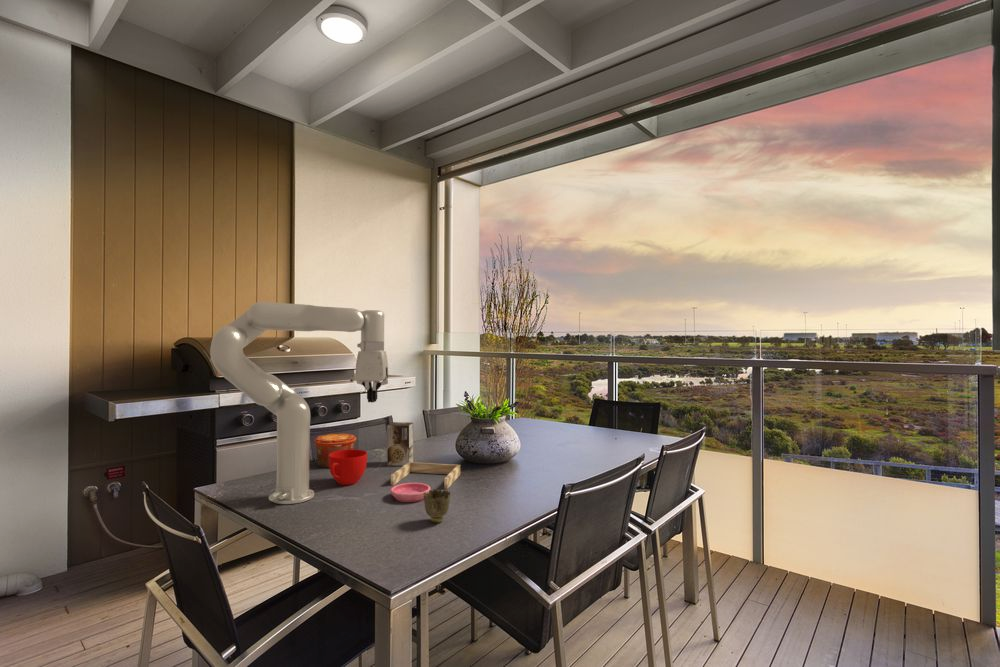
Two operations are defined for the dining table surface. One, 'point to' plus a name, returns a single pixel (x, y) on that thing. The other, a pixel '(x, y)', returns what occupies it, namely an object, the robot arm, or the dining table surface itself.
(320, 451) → the food container
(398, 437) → the coffee box
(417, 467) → the oak cubby
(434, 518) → the cup
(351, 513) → the dining table surface
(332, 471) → the ceramic cup
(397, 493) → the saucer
